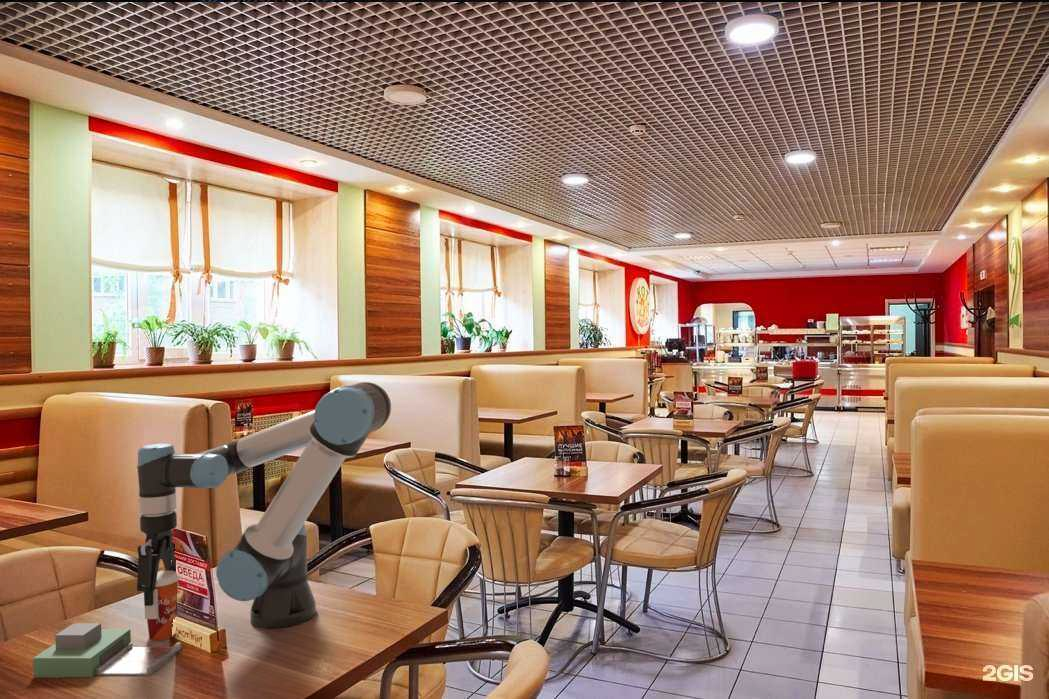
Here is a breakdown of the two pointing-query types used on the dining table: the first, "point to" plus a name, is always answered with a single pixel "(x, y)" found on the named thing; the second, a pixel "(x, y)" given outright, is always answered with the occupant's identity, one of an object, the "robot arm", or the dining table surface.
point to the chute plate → (136, 660)
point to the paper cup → (164, 606)
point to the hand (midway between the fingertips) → (162, 610)
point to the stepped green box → (80, 650)
